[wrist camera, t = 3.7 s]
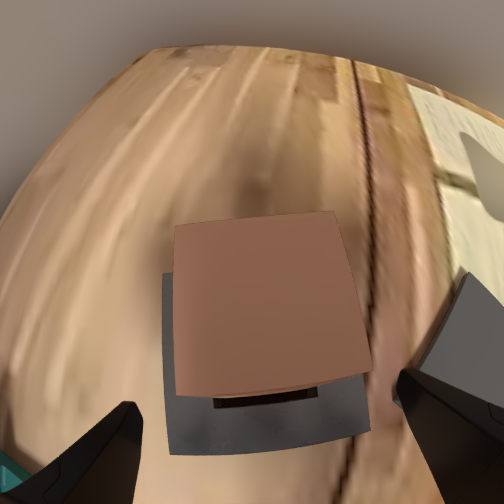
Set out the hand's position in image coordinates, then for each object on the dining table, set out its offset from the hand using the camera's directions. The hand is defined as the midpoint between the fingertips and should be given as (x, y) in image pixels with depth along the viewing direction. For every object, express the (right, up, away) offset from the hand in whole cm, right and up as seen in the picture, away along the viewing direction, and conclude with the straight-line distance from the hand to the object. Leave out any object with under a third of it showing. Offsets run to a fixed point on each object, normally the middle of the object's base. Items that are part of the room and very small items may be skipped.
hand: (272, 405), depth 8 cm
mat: (+18, -5, +8) cm, 21 cm away
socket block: (0, -2, +10) cm, 10 cm away
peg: (0, -2, +10) cm, 10 cm away
